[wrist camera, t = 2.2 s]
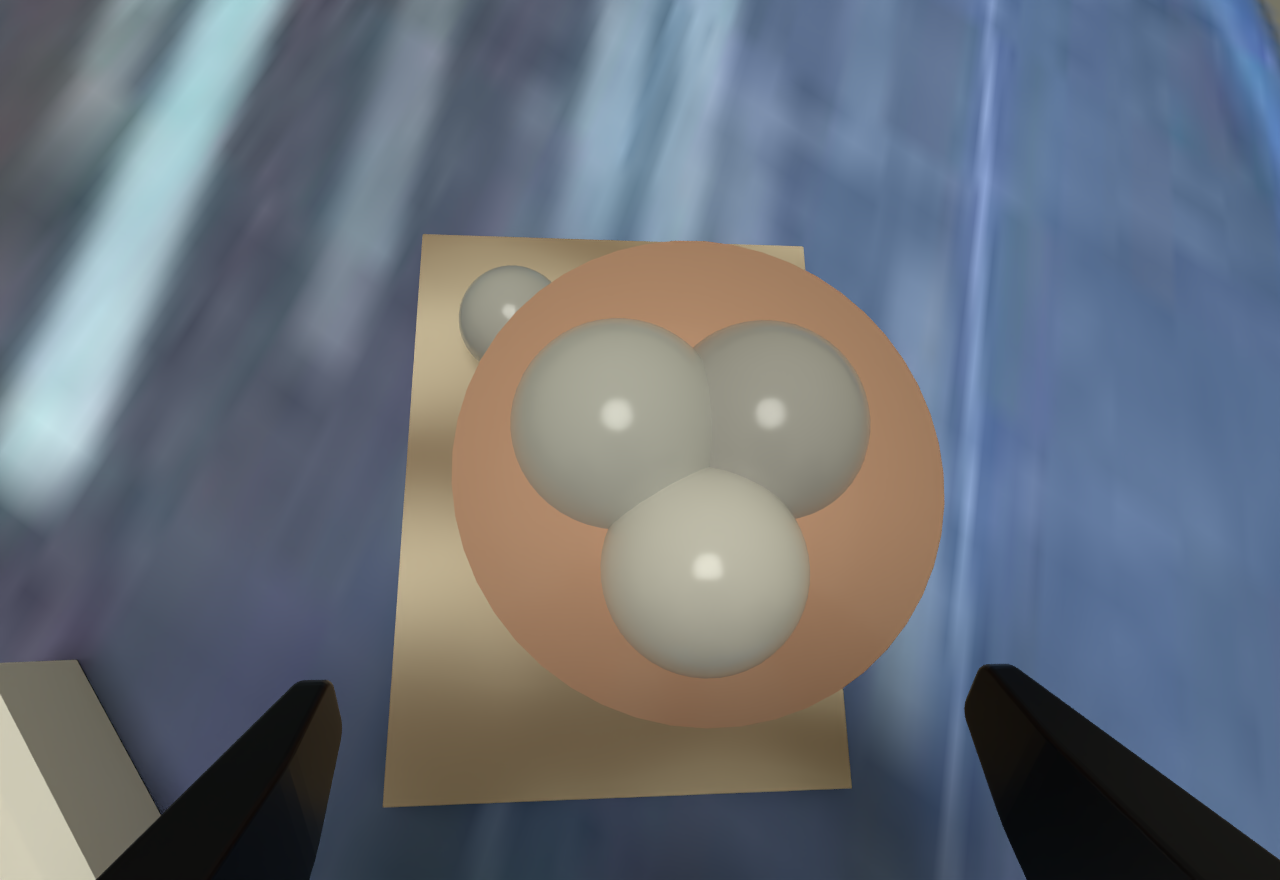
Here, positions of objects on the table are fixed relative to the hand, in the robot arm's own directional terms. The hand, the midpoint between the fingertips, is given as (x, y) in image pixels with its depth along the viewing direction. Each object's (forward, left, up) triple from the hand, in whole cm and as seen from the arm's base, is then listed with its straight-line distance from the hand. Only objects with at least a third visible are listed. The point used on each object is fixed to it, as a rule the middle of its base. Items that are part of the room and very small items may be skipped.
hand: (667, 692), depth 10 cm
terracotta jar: (+2, -1, -10) cm, 10 cm away
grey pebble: (+9, -3, -10) cm, 14 cm away
